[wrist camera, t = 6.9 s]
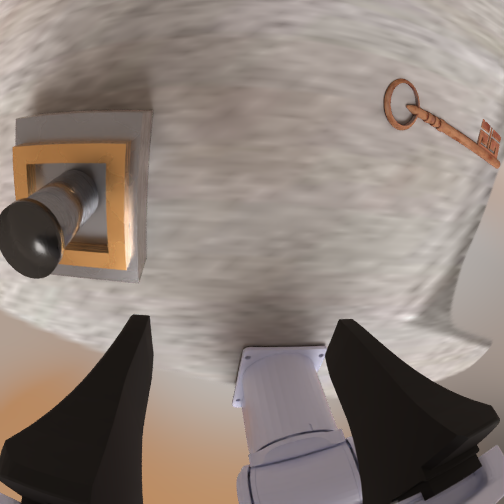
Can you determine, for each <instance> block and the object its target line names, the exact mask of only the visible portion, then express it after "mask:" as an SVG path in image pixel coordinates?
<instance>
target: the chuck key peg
mask: <svg viewBox="0 0 504 504" xmlns="http://www.w3.org/2000/svg"><path fill="white" fill-rule="evenodd" d="M97 205H98V191H97V187H96V185H95V183H94V181H93V180H92V179H91V178H90V177H89V176H88V175H87V174H86V173H84V172H82V171H79V170H69V171H66V172H64V173H63V174H61V175H59V176H58V177H56V178H55V179H53V180H52V181H50V182H49V183H47V184H46V185H44V186H43V187H42V188H40V189H39V190H37V191H36V192H34V193H33V194H32V195H30V196H29V197H27V198H22V199H18V200H16V201H15V202H13V203H12V204H10V205H9V206H8V207H6V208H5V209H4V210H3V211H2V213H1V214H0V250H1V252H2V254H3V256H4V257H5V259H6V260H7V262H8V263H9V264H10V265H11V266H12V267H13V268H14V269H15V270H16V271H18V272H19V273H21V274H22V275H24V276H27V277H30V278H37V279H38V278H44V277H46V276H48V275H50V274H51V273H52V272H53V271H54V269H55V268H56V267H57V265H58V264H59V262H60V261H61V259H62V257H63V254H64V248H65V247H66V246H67V245H68V243H69V242H70V241H71V239H72V238H73V237H74V236H75V235H76V233H77V232H78V231H79V230H80V228H81V227H82V226H83V225H84V224H85V222H86V221H87V220H88V219H89V218H90V216H91V215H92V214H93V213H94V212H95V210H96V208H97Z"/></svg>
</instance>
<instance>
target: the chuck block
mask: <svg viewBox="0 0 504 504" xmlns="http://www.w3.org/2000/svg"><path fill="white" fill-rule="evenodd" d="M152 119H153V111H151V110H91V111H70V112H56V113H45V114H37V115H32V116H27V117H22V118H18V119H16V146H14V147H13V170H14V184H15V195H16V200H18V199H22V198H27V197H29V196H30V195H32V194H33V193H34V192H36V191H37V190H39V189H40V188H42V187H43V186H44V185H46V184H47V183H49V182H50V181H52V180H53V179H55V178H56V177H58V176H59V175H61V174H63V173H64V172H66V171H69V170H79V171H82V172H84V173H86V174H87V175H88V176H89V177H90V178H91V179H92V180H93V181H94V183H95V185H96V187H97V191H98V205H97V208H96V210H95V212H94V213H93V214H92V215H91V216H90V218H89V219H88V220H87V221H86V222H85V224H84V225H83V226H82V227H81V228H80V230H79V231H78V232H77V233H76V235H75V236H74V237H73V238H72V239H71V241H70V242H69V243H68V245H67V246H66V247H65V248H64V254H63V257H62V259H61V261H60V262H59V264H58V265H57V267H56V268H55V269H54V271H53V272H52V273H51V274H53V275H62V276H71V277H80V278H90V279H99V280H110V281H121V282H132V283H139V281H140V278H141V275H142V271H143V268H144V265H145V262H146V217H147V186H148V167H149V152H150V140H151V129H152Z"/></svg>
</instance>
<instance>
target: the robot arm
mask: <svg viewBox="0 0 504 504" xmlns="http://www.w3.org/2000/svg"><path fill="white" fill-rule="evenodd" d="M153 356H154V354H153V345H152V336H151V325H150V316H147V315H134V314H133V315H132V316H131V317H130V318H129V320H128V322H127V323H126V325H125V326H124V328H123V329H122V331H121V332H120V334H119V335H118V337H117V338H116V340H115V341H114V342H113V344H112V345H111V346H110V348H109V349H108V350H107V352H106V353H105V354H104V356H103V357H102V358H101V359H100V361H99V362H98V363H97V364H96V366H95V367H94V368H93V369H92V370H91V372H90V373H89V374H88V375H87V376H86V377H85V378H84V379H83V381H82V382H81V383H80V384H79V385H78V386H77V387H76V388H75V389H74V390H73V391H72V392H71V393H70V394H69V395H68V396H66V397H65V398H64V399H63V400H62V401H61V402H60V403H59V404H58V405H56V406H55V407H54V408H53V409H52V410H50V411H49V412H48V413H46V414H45V415H44V416H42V417H41V418H40V419H39V420H37V421H36V422H35V423H33V424H32V425H30V426H29V427H27V428H25V429H24V430H22V431H21V432H19V433H17V434H16V435H14V436H12V437H11V438H9V439H7V440H6V441H5V443H4V446H3V449H2V451H1V455H0V481H1V482H2V483H4V484H5V485H6V486H8V487H9V488H11V489H12V490H14V491H15V492H17V493H18V494H19V495H21V496H22V501H21V503H20V502H18V501H17V500H15V499H12V498H10V497H8V496H6V495H4V494H2V493H0V504H143V496H142V435H143V426H144V420H145V414H146V408H147V402H148V396H149V391H150V385H151V380H152V369H153ZM324 357H325V358H326V363H327V367H328V371H329V375H330V378H331V380H332V383H333V386H334V388H335V391H336V393H337V396H338V398H339V400H340V403H341V405H342V408H343V410H344V413H345V415H346V418H347V420H348V423H349V426H350V430H351V433H352V436H350V437H347V438H346V439H345V437H344V434H343V432H342V430H341V429H338V428H337V426H336V423H335V420H334V417H333V415H332V412H331V409H330V407H329V404H328V401H327V398H326V396H325V393H324V390H323V388H322V385H321V382H320V380H319V377H318V374H317V372H318V370H319V368H320V366H321V364H322V362H323V360H324ZM232 406H233V407H242V412H243V418H244V425H245V432H246V438H247V444H248V449H249V453H250V454H249V461H250V465H246V466H243V467H242V469H241V472H240V473H239V474H238V477H237V495H238V501H239V504H496V503H497V502H498V501H499V500H500V499H501V498H502V497H503V496H504V455H503V454H502V452H501V450H500V448H499V446H498V445H496V446H495V447H493V448H491V449H490V450H489V451H487V452H486V453H484V454H483V455H482V456H480V457H479V458H478V457H477V455H476V453H478V451H479V448H478V446H477V444H478V443H479V442H481V441H482V440H483V439H484V438H485V437H486V436H487V435H488V434H489V433H490V432H491V431H492V430H493V429H494V428H495V427H496V426H497V425H498V424H499V422H500V418H499V417H498V415H497V414H496V412H495V410H494V409H493V407H492V406H491V405H487V404H484V403H481V402H478V401H474V400H471V399H469V398H466V397H463V396H461V395H459V394H456V393H454V392H452V391H450V390H447V389H446V388H444V387H442V386H440V385H438V384H437V383H435V382H433V381H431V380H430V379H428V378H427V377H425V376H423V375H422V374H420V373H419V372H417V371H416V370H414V369H413V368H412V367H410V366H409V365H408V364H406V363H405V362H404V361H402V360H401V359H400V358H398V357H397V356H396V355H395V354H393V353H392V352H391V351H390V350H389V349H387V348H386V347H385V346H384V345H383V344H382V343H380V342H379V341H378V340H377V339H376V338H375V337H373V336H372V335H371V334H370V333H369V332H368V331H366V330H365V329H364V328H363V327H362V326H361V325H359V324H358V323H357V322H356V321H354V320H353V319H339V321H338V324H337V326H336V329H335V331H334V334H333V336H332V339H331V341H330V344H329V346H328V348H326V346H306V347H247V348H245V349H244V350H243V353H242V357H241V362H240V367H239V372H238V377H237V382H236V386H235V391H234V396H233V401H232Z"/></svg>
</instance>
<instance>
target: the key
mask: <svg viewBox="0 0 504 504" xmlns="http://www.w3.org/2000/svg"><path fill="white" fill-rule="evenodd" d="M400 83H406V84H408V85H409V86H410V87H411V88H412V89H413V91H414V94H415V98H416V106H415V105H407V106H406V107H407V108H408V109H409V111H410V112H411V113H412V114H413V117H412V119H411V120H410V121H409V122H408V123H407V124H405V125H400V124H398V123H397V122H396V120H395V119H394V117H393V115H392V112H391V106H390V103H391V95H392V93H393V90H394V89H395V87H396V86H397V85H399V84H400ZM419 106H420V103H419V97H418V93H417V91H416V89H415V87H414V86H413V85H412V84H411V83H410V82H409V81H407V80H405V79H397V80H395V81H393V82H392V83H391V84H390V86H389V87H388V89H387V91H386V94H385V99H384V108H385V113H386V117H387V119H388V121H389V122H390V123H391V125H392V126H393V127H394V128H396V129H398V130H406V129H408V128H410V127H411V126H412V125H413V124H414V123H415V121H416V119H417V117H419V118H421V119H422V120H423V121H424V122H426V123H429V124H430V125H431V126H433V127H436V129H437V130H438V131H440V132H441V131H442V132H443V133H445V134H447V135H448V136H450V137H451V138H453V139H455V140H456V141H458V142H459V143H461V144H462V145H464V146H465V147H467V148H468V149H470V150H471V151H473V152H474V153H476V154H477V155H478V156H480V157H481V158H483V159H484V160H485V161H487V162H488V163H490V164H491V165H492V166H494V167H495V168H496V169H498V168H499V167H500V162H499V161H498V160H497V155H498V150H499V144H498V143H497V142H496V141H495V140H493V139H492V138H491V134H492V128H491V132H490V125H489V124H488V123H487V122H485V120H484V119H483V122H482V126H481V127H482V128H483V129H484V130H485V131H487V132H488V133H489V132H490V136H489V135H487V134H486V133H485V132H484V131H483V130H480V134H479V138H478V141H477V144H476V143H475V142H473V141H472V140H471V139H469V138H468V137H466V136H465V135H463V134H462V133H461V132H459V131H458V130H456V129H455V128H453V127H452V126H450V125H448V124H447V123H445V121H444V120H442V119H439V118H438V117H436V116H434V115H431V113H429V112H428V111H424V110H423V109H421V108H419ZM492 136H493V137H494V138H495V139H496V140H497V141H499V142H500V140H501V137H500V136H499V135H498V133H497V132H496V131H495V130H493V134H492ZM488 137H489V140H488ZM490 139H491V142H490ZM481 142H482V143H483V144H484V145H486V146H487V147H484V146H483V145H482V144H481ZM487 142H488V143H487ZM489 144H490V145H489ZM488 149H491V150H492V151H494V154H493V153H492V152H490V151H489V150H488ZM494 149H495V150H494Z"/></svg>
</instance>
